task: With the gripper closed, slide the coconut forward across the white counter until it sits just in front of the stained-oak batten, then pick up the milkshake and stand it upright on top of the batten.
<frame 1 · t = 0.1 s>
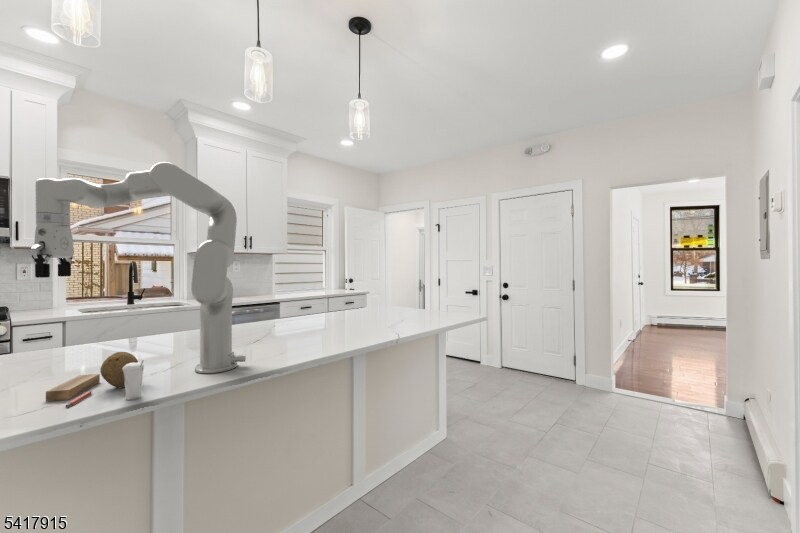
hand: (54, 276, 110), 31 cm above the table, tool pointing down, fingers open, 9 cm apart
milkshake: (134, 398, 94), on the table
batten: (74, 391, 100), on the table
carpenter pencil: (80, 399, 93), on the table
coconut: (120, 387, 103), on the table
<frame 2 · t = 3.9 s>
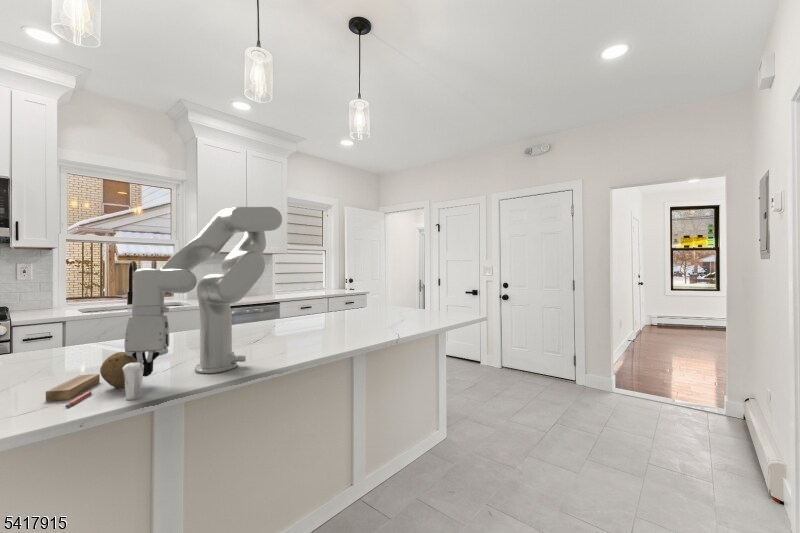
hand: (145, 375, 104), 3 cm above the table, tool pointing down, fingers closed
coconut: (120, 387, 103), on the table, touching gripper
everything else where it was.
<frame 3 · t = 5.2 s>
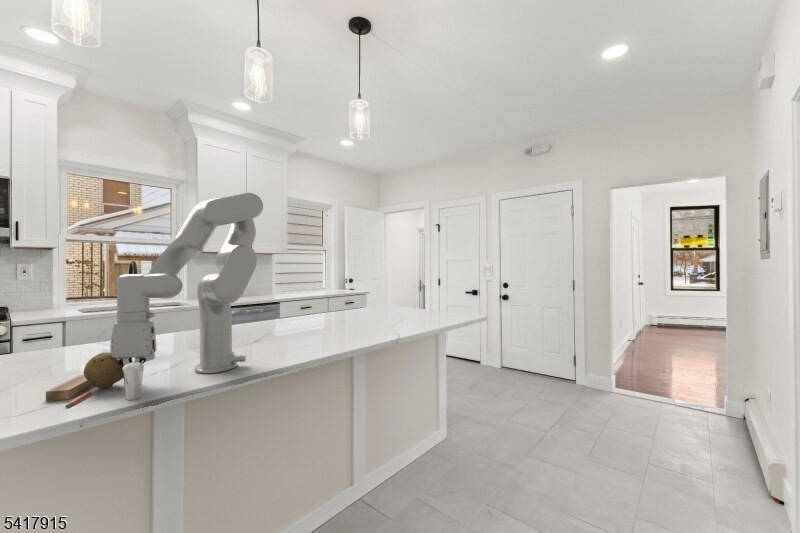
hand: (133, 381, 104), 1 cm above the table, tool pointing down, fingers closed
coconut: (104, 388, 102), on the table, touching gripper
everything else where it was.
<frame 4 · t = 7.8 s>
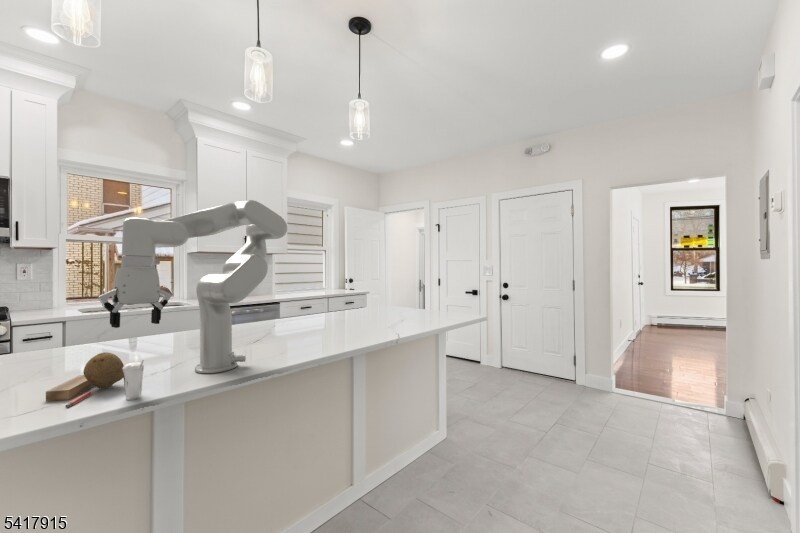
hand: (136, 325, 99), 18 cm above the table, tool pointing down, fingers open, 9 cm apart
coconut: (104, 388, 102), on the table
everything else where it was.
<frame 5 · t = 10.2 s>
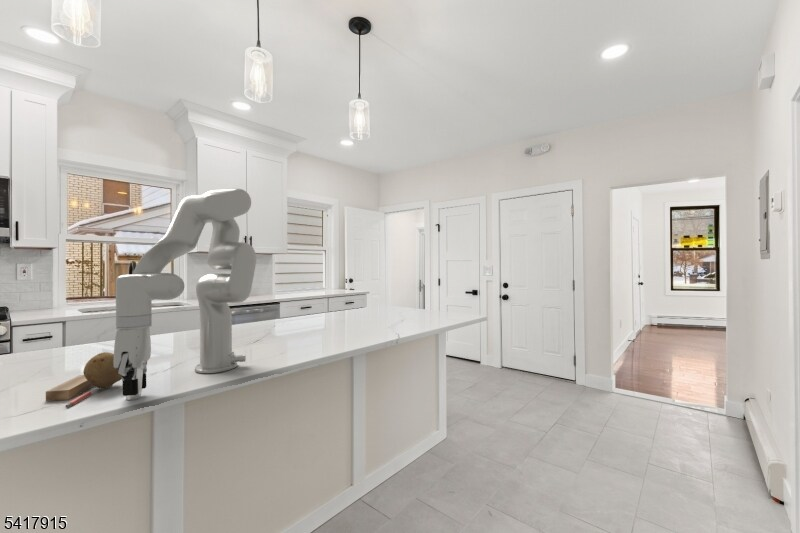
hand: (134, 391, 94), 2 cm above the table, tool pointing down, fingers closed on milkshake, 4 cm apart
milkshake: (134, 398, 94), on the table, touching gripper
everything else where it was.
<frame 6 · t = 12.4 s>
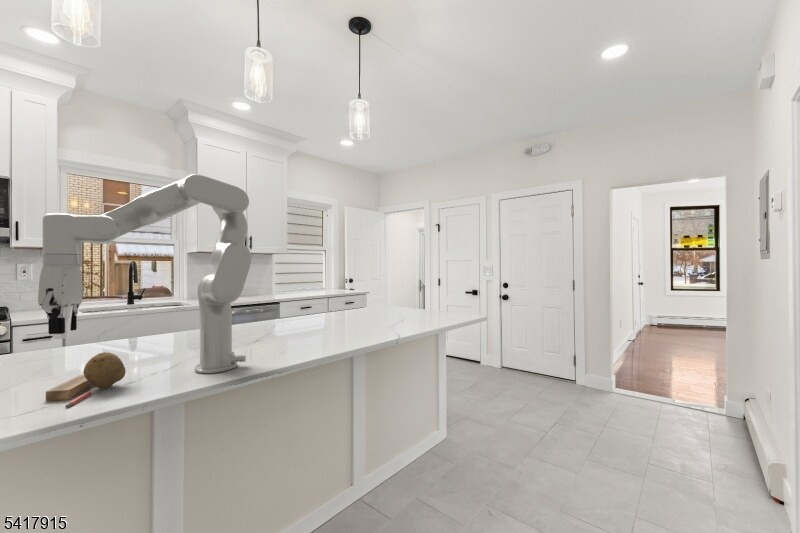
hand: (63, 331, 94), 18 cm above the table, tool pointing down, fingers closed on milkshake, 4 cm apart
milkshake: (62, 338, 94), point 16 cm above the table, touching gripper
everything else where it was.
when the fingers open (6 cm above the table, at t = 15.0 s): milkshake drops 1 cm, resting on batten.
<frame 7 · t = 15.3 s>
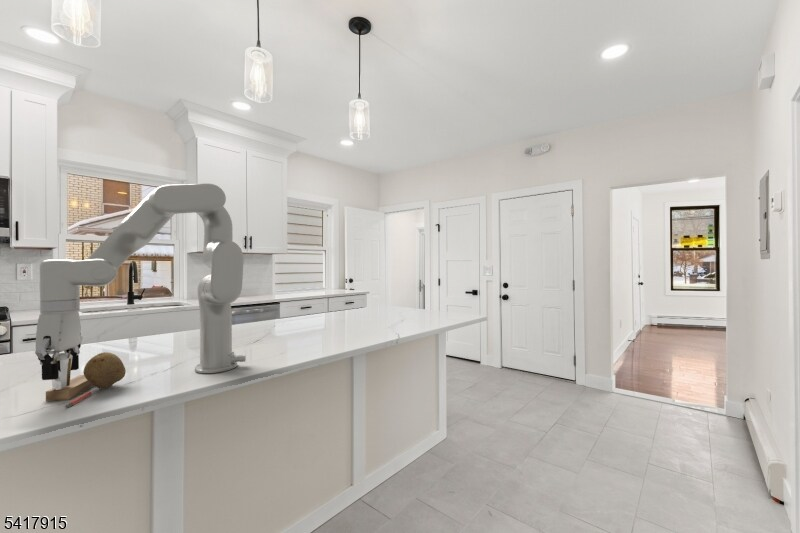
hand: (61, 374, 94), 6 cm above the table, tool pointing down, fingers open, 7 cm apart
milkshake: (62, 389, 94), point 2 cm above the table, touching batten
everything else where it was.
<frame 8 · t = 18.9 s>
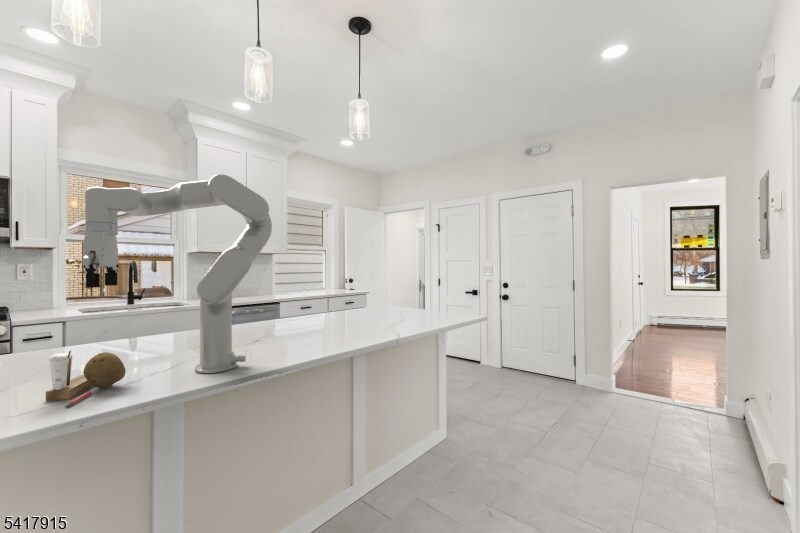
hand: (102, 286, 109), 28 cm above the table, tool pointing down, fingers open, 9 cm apart
nothing on the table moved.
at the end: coconut inside the target area (0.4 cm from its centre), on the table; milkshake inside the target area (1.3 cm from its centre), point 2.3 cm above the table; milkshake tilted 0° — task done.
